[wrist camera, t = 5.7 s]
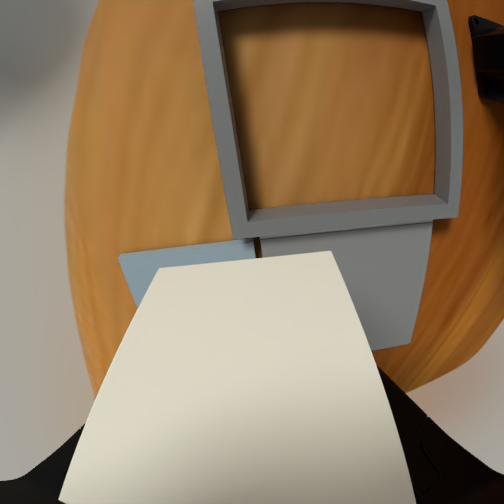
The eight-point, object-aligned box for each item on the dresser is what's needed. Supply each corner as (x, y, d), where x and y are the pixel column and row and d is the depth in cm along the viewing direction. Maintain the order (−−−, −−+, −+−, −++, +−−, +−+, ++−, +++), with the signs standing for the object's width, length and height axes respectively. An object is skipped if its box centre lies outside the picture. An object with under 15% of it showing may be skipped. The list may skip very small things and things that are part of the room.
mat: (253, 238, 20) (253, 242, 20) (269, 344, 25) (269, 349, 24) (120, 253, 21) (117, 257, 21) (160, 349, 26) (158, 353, 25)
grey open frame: (430, 1, 11) (445, -5, 10) (420, 333, 24) (427, 348, 22) (199, 1, 13) (192, -9, 11) (259, 355, 26) (259, 372, 24)
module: (331, 250, 8) (418, 513, 2) (327, 372, 11) (354, 546, 5) (159, 268, 9) (58, 499, 3) (199, 381, 11) (173, 548, 5)
